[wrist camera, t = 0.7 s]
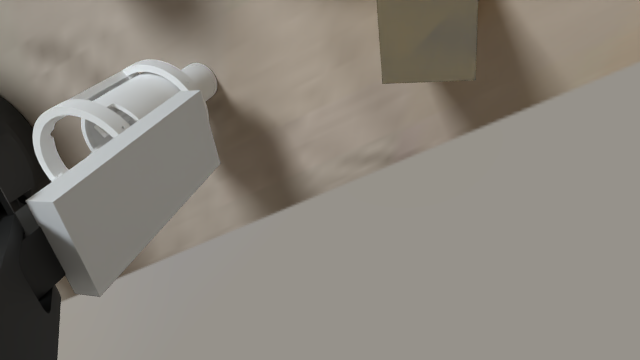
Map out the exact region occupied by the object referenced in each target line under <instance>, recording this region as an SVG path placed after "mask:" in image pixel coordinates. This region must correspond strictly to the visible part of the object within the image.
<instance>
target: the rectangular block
mask: <svg viewBox="0 0 640 360" xmlns="http://www.w3.org/2000/svg"><path fill="white" fill-rule="evenodd" d="M377 13H378V27H379V41H380V55H381V69H382V84H391V83H417V82H444V81H470V80H476V49H477V18H478V0H377Z"/></svg>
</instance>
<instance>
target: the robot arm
mask: <svg viewBox="0 0 640 360" xmlns="http://www.w3.org/2000/svg"><path fill="white" fill-rule="evenodd" d="M32 136H33V129H32V127H31V126H30V125H29V124H28V122H27V121H26V120H25V119H24V118H23V116H22V115H21V114H20V113H19V112H18V111H17V110H16V109H15V108H14V107H13V106H11V105H10V104H9V103H8V102H7V101H6V100H4V99H3V98H2V97H0V360H57V355H58V338H59V321H60V304H61V296H60V293H59V291H58V289H57V287H56V286H55V284H56V283H57V282H58V281H59V280H60V279H61V278H63V277H64V276H66V278H67V280H68V282H69V283H70V285H71V287H72V289H73V291H74V293H75V294H82V295H90V296H98V297H100V296H101V295H102V294H103V293H104V292H105V291H106V290H107V289H108V288H109V286H110V285H111V284H112V283H113V282H114V281H115V280H116V279H117V278H118V276H119V275H120V274H121V273H122V272H123V271H124V270H125V269H126V268H127V267H128V265H129V264H130V263H131V262H132V261H133V260H134V259H135V258H136V257H137V255H138V254H139V253H140V252H141V251H142V250H143V249H144V248H145V247H146V246H147V244H148V243H149V242H150V241H151V240H152V239H153V238H154V237H155V236H156V234H157V233H158V232H159V231H160V230H161V229H162V228H163V227H164V226H165V224H166V223H167V222H168V221H169V220H170V219H171V218H172V217H173V216H174V215H175V213H176V212H177V211H178V210H179V209H180V208H181V207H182V206H183V205H184V203H185V202H186V201H187V200H188V199H189V198H190V197H191V196H192V195H193V193H194V192H195V191H196V190H197V189H198V188H199V187H200V186H201V185H202V184H203V182H204V181H205V180H206V179H207V178H208V177H209V176H210V175H211V174H212V172H213V171H214V170H215V169H216V168H217V167H218V166H219V165H220V160H219V156H218V153H217V149H216V145H215V142H214V138H213V134H212V131H211V127H210V124H209V120H208V116H207V113H206V109H205V105H204V102H203V98H202V94H201V91H200V90H194V91H180V92H178V93H177V94H175V95H174V96H172V97H171V98H170V99H168V100H167V101H165V102H164V103H163V104H161V105H160V106H158V107H157V108H156V109H154V110H153V111H151V112H150V113H148V114H147V115H146V116H144V117H143V118H141V119H140V120H139V121H137V122H136V123H134V124H133V125H132V126H130V127H129V128H127V129H126V130H125V131H123V132H122V133H120V134H119V135H117V136H116V137H115V138H113V139H112V140H110V141H109V142H108V143H106V144H105V145H103V146H102V147H101V148H99V149H98V150H96V151H95V152H94V153H92V154H91V155H89V156H88V157H86V158H85V159H84V160H82V161H81V162H79V163H78V164H77V165H75V166H74V167H72V168H71V169H70V170H68V171H67V172H65V173H64V174H63V175H61V176H60V177H58V178H57V179H55V180H54V181H53V182H51V180H50V179H49V178H48V176H47V175H46V174H45V172H44V171H43V169H42V167H41V165H40V163H39V161H38V159H37V157H36V154H35V151H34V146H33V138H32Z"/></svg>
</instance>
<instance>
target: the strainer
mask: <svg viewBox="0 0 640 360" xmlns="http://www.w3.org/2000/svg"><path fill="white" fill-rule="evenodd" d="M138 72H143V73H141V74H139V73H138ZM194 90H200V91H201V94H202V98H203V102H204V105H205V109H206V113H207V116H208V120H209V114H208V109H207V105H206V101H207V100H208V99H210V98H211V97H212V96H213V95H214V94H215V93H216V90H217V80H216V77H215V75H214V73H213V72H212V71H211V70H210V69H209V68H208V67H207V66H205V65H203V64H201V63H191V64H189V65H188V66H186V67H185V68H183V69H182V70H180V69H179V68H177V67H175V66H174V65H172V64H169V63H167V62H164V61H160V60H153V59H149V60H142V61H139V62H136V63H134V64H133V65H131V66H129V67H127V68H125V69H124V70H122V71H120V72H118V73H117V74H115V75H113V76H111V77H109V78H107V79H105V80H104V81H102V82H100V83H98V84H96V85H94V86H92V87H91V88H89V89H87V90H85V91H83V92H81V93H79V94H77V95H76V96H74V97H72V98H70V99H68V100H66V101H64V102H62V103H60V104H58V105H56V106H54V107H52V108H51V109H49V110H47V111H45V112H44V113H42V114H41V115H40V116H39V117H38V119H37V120H36V122H35V125H34V128H33V136H32V138H33V146H34V151H35V154H36V157H37V159H38V161H39V163H40V165H41V167H42V169H43V171H44V172H45V174H46V175H47V176H48V178H49V179H50V180H51V181H52V182H53V181H54V180H55V179H57V178H58V177H60V176H61V175H63V174H64V173H65V172H67V171H68V170H69V169H68V168H67V167H66V166H65V165H64V163H63V162H62V160H61V158H60V156H59V154H58V152H57V149H56V146H55V142H54V138H53V137H52V136H51V135H50V134H51V132H52V131H53V130H54V126H55V123H56V122H57V121H59V120H60V119H62V118H64V117H65V116H67V115H72V116H77V117H81V128H82V133H83V136H84V139H85V141H86V143H87V145H88V147H89V148H90V150H91V151H92V152H91V153H90V154H89V155H91V154H92V153H94V152H95V151H96V150H98V149H99V148H101V147H102V146H103V145H105V144H106V143H108V142H109V141H110V140H112V139H113V138H115V137H116V136H117V135H119V134H120V133H122V132H123V131H125V130H126V129H127V128H129V127H130V126H132V125H133V124H134V123H136V122H137V121H139V120H140V119H141V118H143V117H144V116H146V115H147V114H148V113H150V112H151V111H153V110H154V109H156V108H157V107H158V106H160V105H161V104H163V103H164V102H165V101H167V100H168V99H170V98H171V97H172V96H174V95H175V94H177V93H178V92H180V91H194ZM107 92H108V93H107ZM105 93H106V94H105ZM100 96H101V97H100ZM98 97H99V98H98ZM95 99H96V100H95ZM93 100H94V101H93ZM89 155H88V156H89Z"/></svg>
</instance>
